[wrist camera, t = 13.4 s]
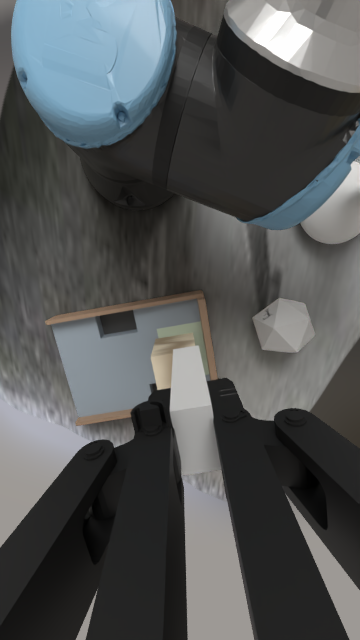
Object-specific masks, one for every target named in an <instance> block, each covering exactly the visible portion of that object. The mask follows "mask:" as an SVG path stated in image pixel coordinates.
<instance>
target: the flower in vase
mask: <svg viewBox="0 0 360 640" xmlns="http://www.w3.org/2000/svg"><path fill="white" fill-rule="evenodd" d="M351 169H352V170H351V171H350V173H349V174H348V176H347V177H346V178H345V180H344V181H343V182H342V184H341V185H340V186H339V188H338V189H337V190H336V191H335V192H334V193H333V195H332V196H331V197H330V198H329V199H328V200H327V201H326V202H325V203H324V204H323V205H322V206H321V207H320V208H319V209H318V210H317V211H315V212H314V213H313V214H312V215H311V216H310V217H308V218H307V219H305V220H304V221H302V222H301V225H302V227H303V229H304V230H305V232H306V233H307V234H308V235H309V236H310V237H312V238H313V239H315V240H316V241H319V242H321V243H325V244H339V243H343V242H346V241H348V240H350V239H352V238H354V237H355V236H357V235H358V234H359V233H360V164H359V163H357V162H354V161H353V162H352V163H351Z"/></svg>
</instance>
